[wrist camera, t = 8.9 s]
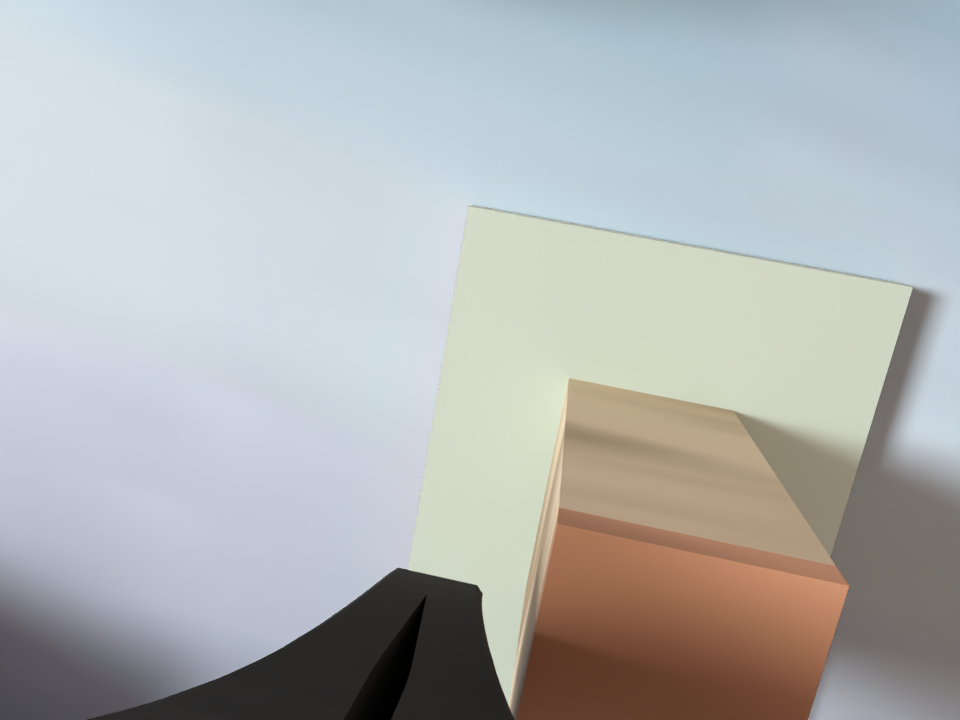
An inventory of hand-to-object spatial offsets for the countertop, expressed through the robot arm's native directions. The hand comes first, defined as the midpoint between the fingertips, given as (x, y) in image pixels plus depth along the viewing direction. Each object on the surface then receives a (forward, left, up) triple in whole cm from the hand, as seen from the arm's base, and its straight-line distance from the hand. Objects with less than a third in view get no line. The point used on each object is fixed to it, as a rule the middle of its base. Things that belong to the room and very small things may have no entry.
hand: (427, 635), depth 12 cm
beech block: (0, -3, -6) cm, 7 cm away
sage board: (-1, -3, -7) cm, 8 cm away
